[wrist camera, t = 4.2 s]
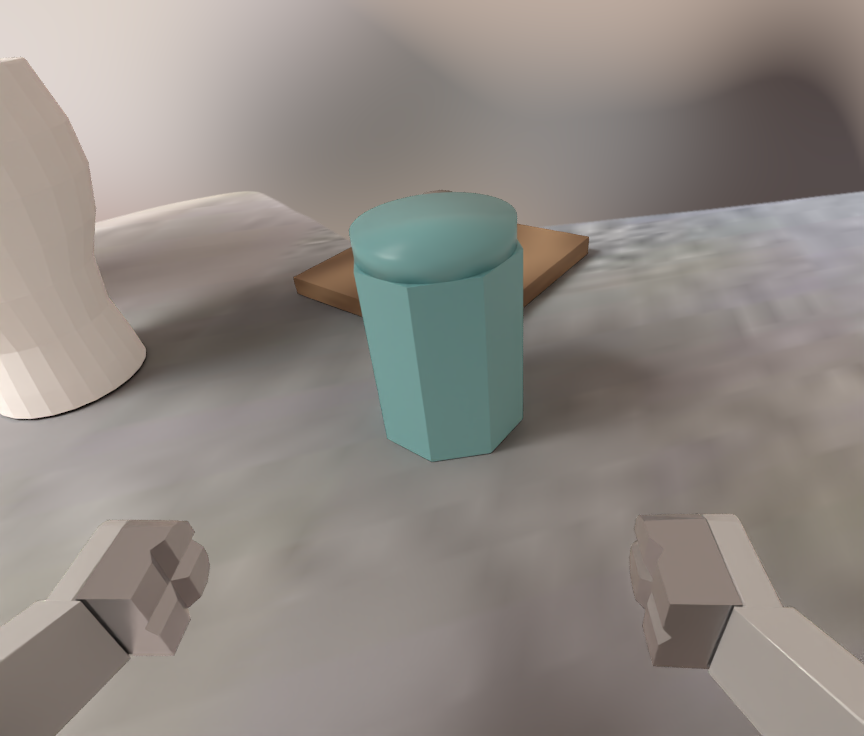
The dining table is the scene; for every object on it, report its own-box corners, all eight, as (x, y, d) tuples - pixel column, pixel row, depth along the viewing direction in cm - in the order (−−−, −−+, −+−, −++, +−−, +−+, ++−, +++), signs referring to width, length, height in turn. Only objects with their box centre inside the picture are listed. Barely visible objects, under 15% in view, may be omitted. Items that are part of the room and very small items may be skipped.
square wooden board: (297, 293, 35) (276, 218, 32) (428, 221, 44) (422, 156, 41) (467, 354, 28) (460, 263, 25) (587, 253, 36) (593, 175, 33)
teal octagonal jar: (359, 424, 24) (313, 236, 19) (440, 358, 28) (421, 185, 22) (466, 480, 21) (447, 270, 16) (542, 397, 24) (549, 204, 19)
